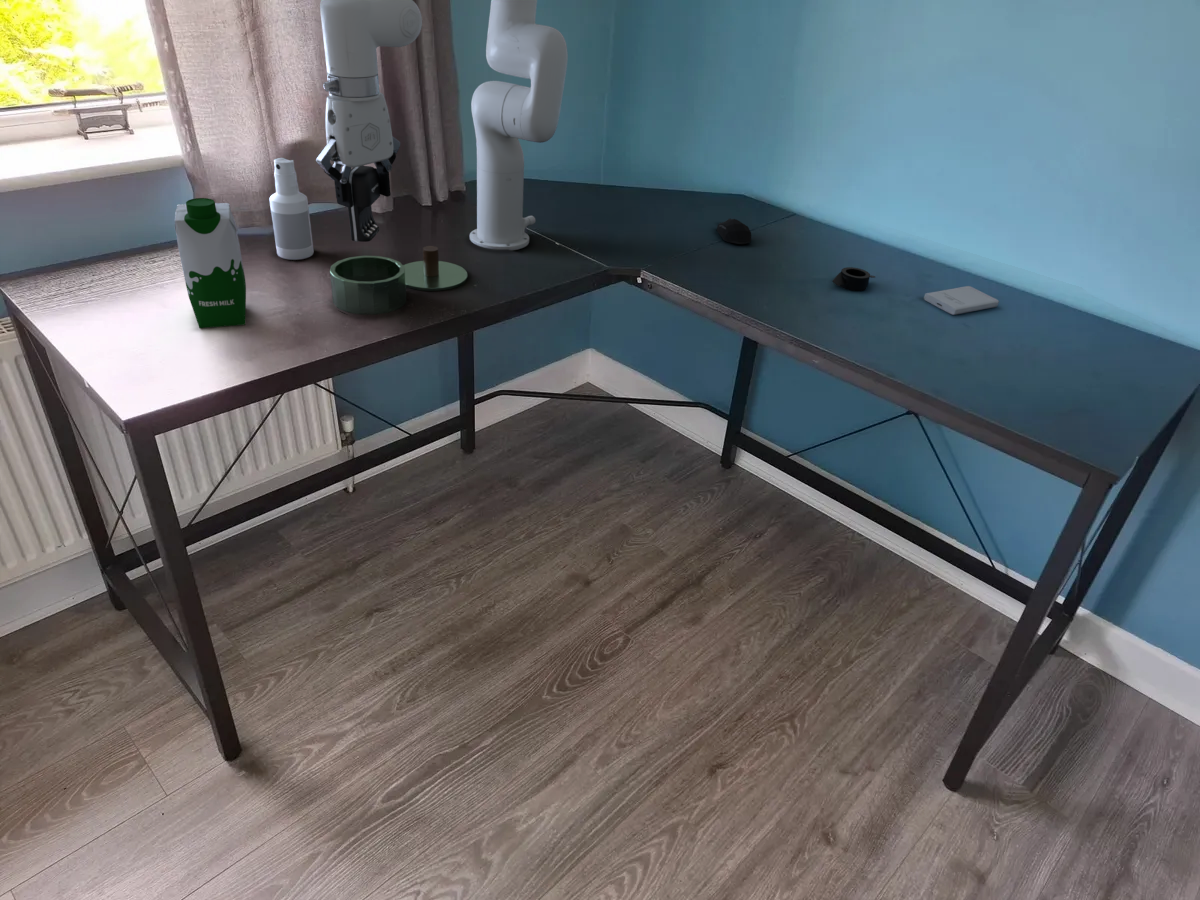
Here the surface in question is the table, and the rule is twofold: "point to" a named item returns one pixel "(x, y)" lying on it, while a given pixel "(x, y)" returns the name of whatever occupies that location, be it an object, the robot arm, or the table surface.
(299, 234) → the spray bottle
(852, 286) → the duct tape
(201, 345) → the table surface
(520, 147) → the robot arm
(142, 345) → the table surface
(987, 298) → the hard drive
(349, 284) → the pot
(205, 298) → the milk carton
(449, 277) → the lid
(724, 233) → the gaming mouse
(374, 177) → the battery charger
